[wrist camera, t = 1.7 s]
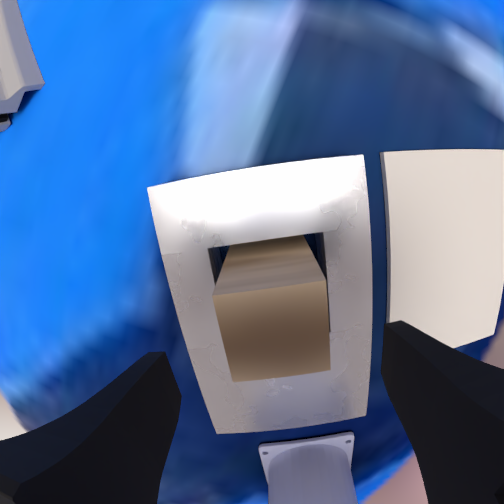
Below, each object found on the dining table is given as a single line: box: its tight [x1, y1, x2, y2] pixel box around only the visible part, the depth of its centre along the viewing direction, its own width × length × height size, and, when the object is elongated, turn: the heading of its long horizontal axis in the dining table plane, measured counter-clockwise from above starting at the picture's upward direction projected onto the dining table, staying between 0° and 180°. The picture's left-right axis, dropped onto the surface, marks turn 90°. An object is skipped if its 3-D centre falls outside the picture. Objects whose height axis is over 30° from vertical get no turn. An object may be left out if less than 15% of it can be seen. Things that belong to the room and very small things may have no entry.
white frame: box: [147, 155, 372, 434], centre depth 17 cm, size 16×10×3 cm, turn 9°
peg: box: [212, 235, 331, 382], centre depth 15 cm, size 4×4×7 cm
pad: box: [380, 149, 504, 348], centre depth 17 cm, size 14×10×1 cm
